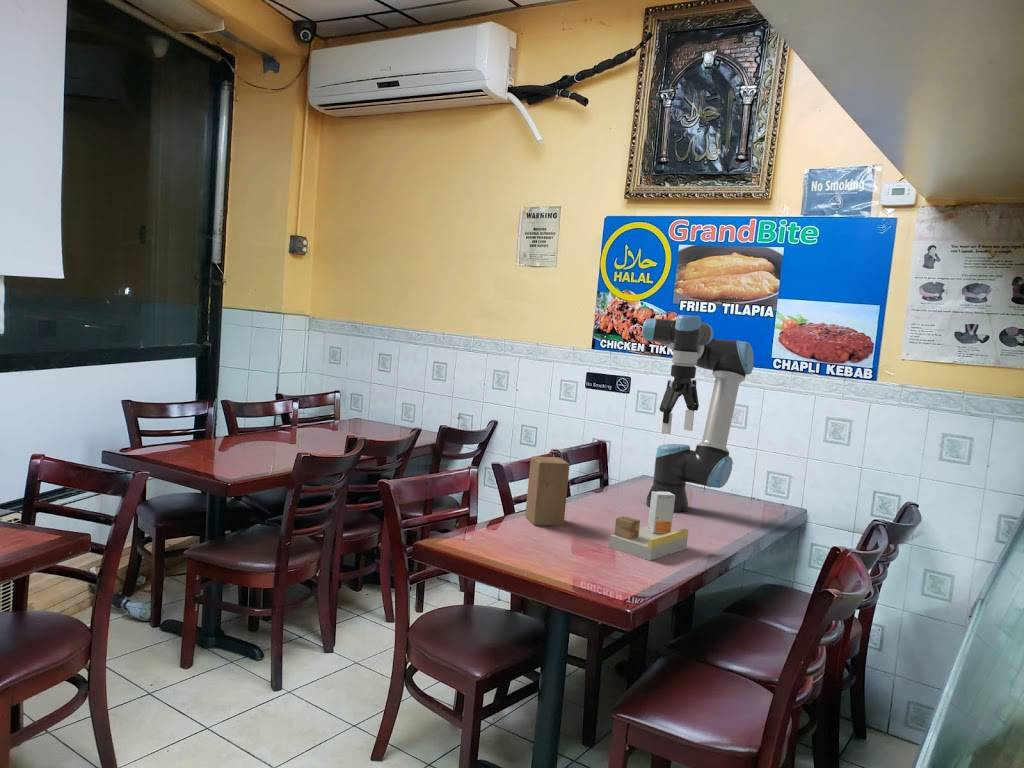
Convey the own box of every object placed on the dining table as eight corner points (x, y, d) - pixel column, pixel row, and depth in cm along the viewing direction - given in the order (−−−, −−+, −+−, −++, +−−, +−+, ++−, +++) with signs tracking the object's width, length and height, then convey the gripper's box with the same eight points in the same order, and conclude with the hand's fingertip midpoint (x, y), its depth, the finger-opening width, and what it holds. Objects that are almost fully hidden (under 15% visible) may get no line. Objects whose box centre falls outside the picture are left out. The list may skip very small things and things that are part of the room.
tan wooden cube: (624, 532, 224) (625, 515, 223) (638, 536, 220) (640, 520, 220) (614, 535, 220) (616, 518, 219) (628, 539, 217) (630, 522, 216)
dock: (646, 536, 234) (648, 518, 234) (686, 549, 225) (688, 529, 224) (608, 547, 219) (610, 527, 219) (649, 560, 210) (652, 540, 210)
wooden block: (533, 525, 235) (539, 462, 233) (524, 516, 245) (530, 455, 243) (564, 526, 238) (570, 463, 236) (553, 517, 247) (559, 457, 246)
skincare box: (653, 533, 225) (657, 494, 224) (646, 529, 229) (651, 490, 228) (671, 534, 227) (675, 495, 226) (664, 530, 231) (669, 491, 230)
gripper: (693, 363, 247) (686, 427, 250) (652, 363, 229) (645, 432, 231) (714, 365, 242) (707, 430, 245) (674, 366, 224) (667, 437, 226)
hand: (677, 432), depth 238 cm, fingers open, 13 cm apart
